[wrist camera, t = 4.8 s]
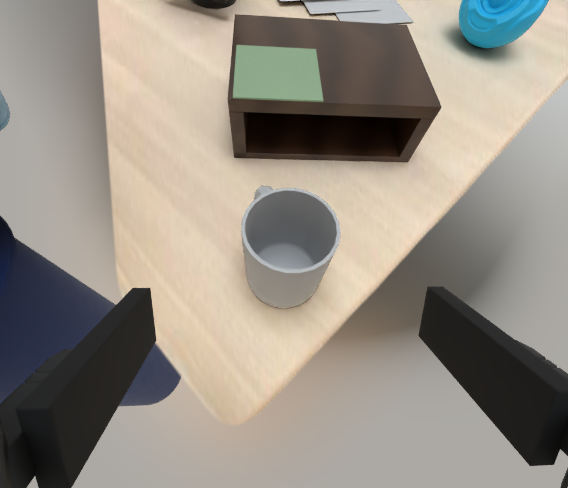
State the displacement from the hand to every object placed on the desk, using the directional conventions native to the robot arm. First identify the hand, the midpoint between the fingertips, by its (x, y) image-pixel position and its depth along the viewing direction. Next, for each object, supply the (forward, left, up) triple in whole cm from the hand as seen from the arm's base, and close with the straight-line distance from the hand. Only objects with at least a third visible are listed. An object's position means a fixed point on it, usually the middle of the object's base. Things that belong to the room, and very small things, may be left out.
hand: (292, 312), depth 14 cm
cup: (0, +9, -13) cm, 16 cm away
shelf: (+6, +31, -13) cm, 34 cm away
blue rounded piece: (+37, +52, -13) cm, 65 cm away
